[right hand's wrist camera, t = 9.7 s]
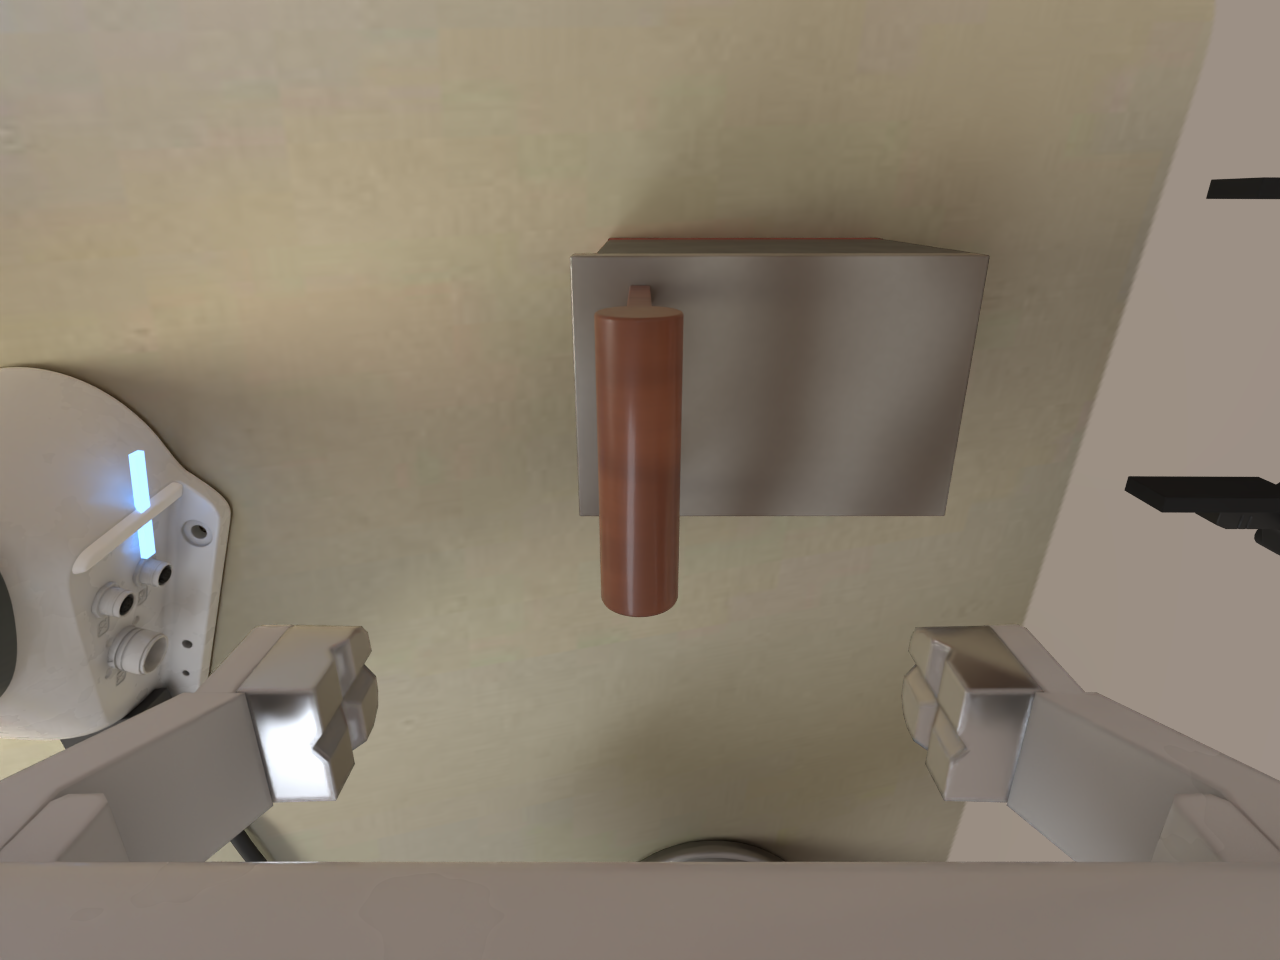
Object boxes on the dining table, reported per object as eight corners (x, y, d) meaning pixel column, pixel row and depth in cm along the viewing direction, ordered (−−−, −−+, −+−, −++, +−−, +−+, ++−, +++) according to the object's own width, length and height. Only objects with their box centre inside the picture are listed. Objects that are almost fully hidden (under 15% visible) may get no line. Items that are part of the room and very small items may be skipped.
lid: (581, 503, 28) (554, 643, 19) (573, 253, 25) (533, 282, 16) (932, 503, 28) (1067, 643, 19) (973, 252, 25) (1163, 280, 16)
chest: (612, 423, 38) (601, 503, 28) (608, 238, 35) (595, 252, 25) (855, 423, 38) (932, 503, 28) (876, 237, 35) (973, 252, 25)
